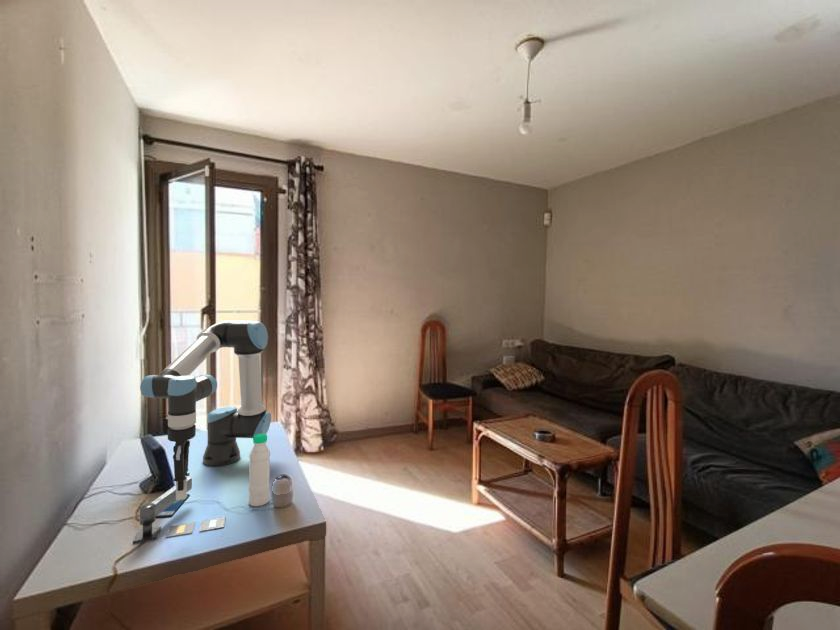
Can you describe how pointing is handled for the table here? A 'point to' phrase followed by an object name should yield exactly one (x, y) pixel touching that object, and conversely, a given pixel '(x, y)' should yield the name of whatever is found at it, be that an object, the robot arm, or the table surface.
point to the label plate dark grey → (212, 524)
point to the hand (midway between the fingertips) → (181, 498)
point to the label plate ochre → (180, 529)
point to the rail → (159, 504)
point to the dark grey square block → (147, 534)
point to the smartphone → (172, 509)
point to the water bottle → (259, 471)
